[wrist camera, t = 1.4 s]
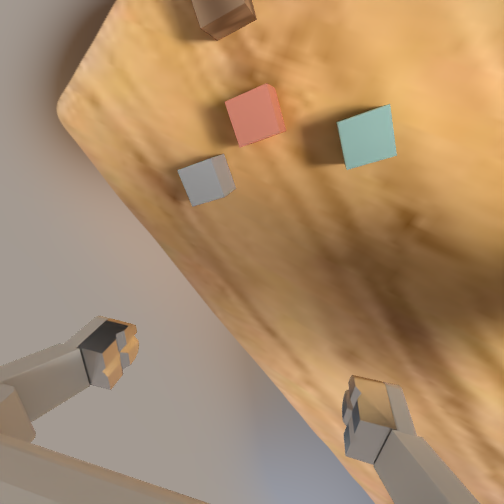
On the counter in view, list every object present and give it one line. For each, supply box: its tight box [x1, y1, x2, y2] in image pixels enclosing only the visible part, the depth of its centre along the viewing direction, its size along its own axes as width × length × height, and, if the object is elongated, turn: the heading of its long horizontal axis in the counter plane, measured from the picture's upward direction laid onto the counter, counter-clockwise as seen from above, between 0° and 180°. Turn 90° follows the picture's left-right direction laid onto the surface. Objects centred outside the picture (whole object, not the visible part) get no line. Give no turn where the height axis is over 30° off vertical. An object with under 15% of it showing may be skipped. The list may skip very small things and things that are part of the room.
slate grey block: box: [177, 154, 236, 207], centre depth 37 cm, size 5×5×5 cm
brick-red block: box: [225, 83, 286, 147], centre depth 32 cm, size 5×5×5 cm
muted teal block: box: [336, 104, 397, 170], centre depth 30 cm, size 5×5×5 cm
